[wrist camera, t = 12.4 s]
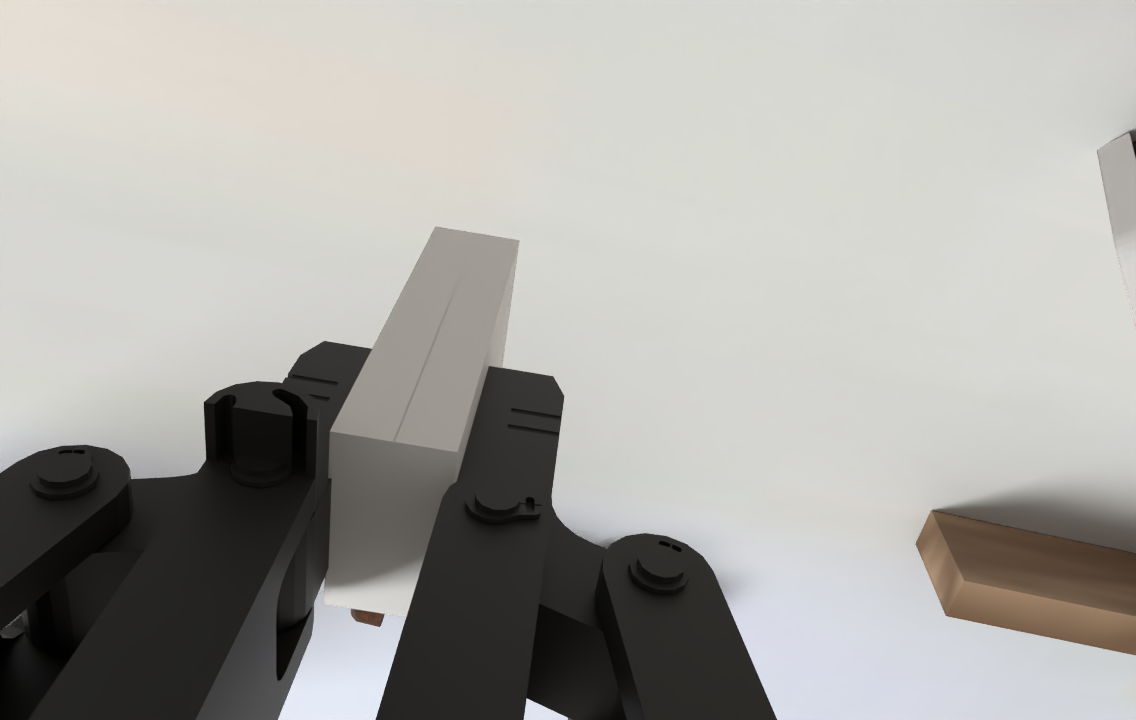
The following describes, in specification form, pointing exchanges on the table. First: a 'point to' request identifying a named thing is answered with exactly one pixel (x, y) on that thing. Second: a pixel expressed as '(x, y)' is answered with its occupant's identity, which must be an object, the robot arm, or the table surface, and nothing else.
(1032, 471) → the table surface
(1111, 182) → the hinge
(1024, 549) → the frame
